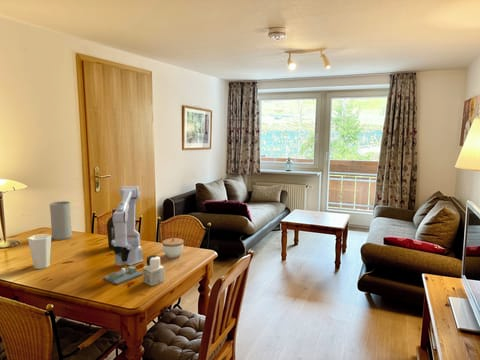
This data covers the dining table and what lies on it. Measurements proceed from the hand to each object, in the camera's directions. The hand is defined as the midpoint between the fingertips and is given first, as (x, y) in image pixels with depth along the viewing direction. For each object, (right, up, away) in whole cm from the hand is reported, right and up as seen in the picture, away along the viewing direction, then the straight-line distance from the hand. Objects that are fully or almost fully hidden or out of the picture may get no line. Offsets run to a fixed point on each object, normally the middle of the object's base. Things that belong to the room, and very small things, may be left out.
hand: (121, 260), depth 175 cm
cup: (-49, -7, +14) cm, 52 cm away
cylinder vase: (-66, 0, +67) cm, 94 cm away
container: (+18, -10, -4) cm, 21 cm away
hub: (0, -2, 0) cm, 2 cm away
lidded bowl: (+20, -5, +32) cm, 38 cm away
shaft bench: (0, -9, +1) cm, 9 cm away
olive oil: (-20, -3, +47) cm, 51 cm away
